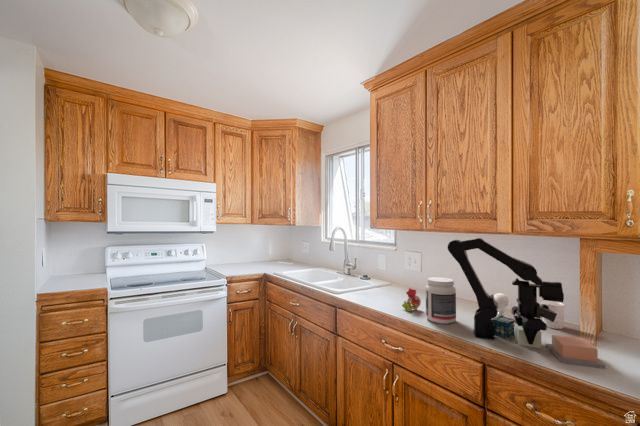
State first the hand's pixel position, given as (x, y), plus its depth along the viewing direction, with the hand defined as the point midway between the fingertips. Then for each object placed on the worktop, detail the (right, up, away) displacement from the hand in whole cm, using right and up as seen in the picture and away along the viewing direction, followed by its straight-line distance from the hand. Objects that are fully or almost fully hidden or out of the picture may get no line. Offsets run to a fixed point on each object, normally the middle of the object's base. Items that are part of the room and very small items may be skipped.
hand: (527, 340), depth 110 cm
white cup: (+23, -2, +18) cm, 30 cm away
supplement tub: (-22, -2, +26) cm, 34 cm away
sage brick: (0, -1, 0) cm, 1 cm away
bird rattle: (-30, -2, +40) cm, 50 cm away
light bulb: (+9, -2, +31) cm, 32 cm away
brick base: (+8, -1, -10) cm, 13 cm away
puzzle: (-4, -2, +9) cm, 9 cm away
